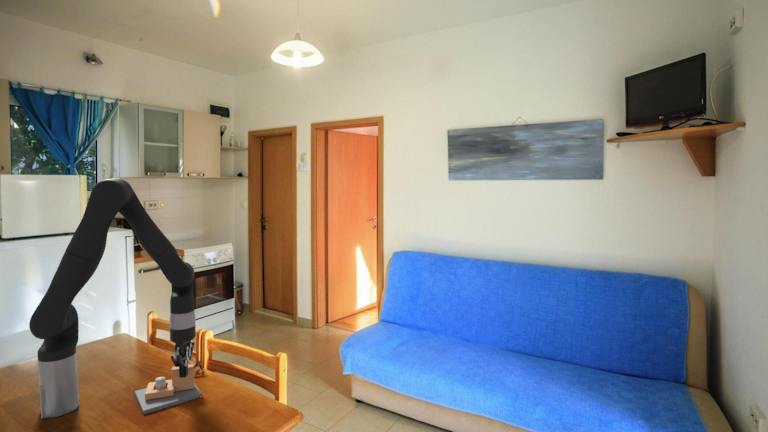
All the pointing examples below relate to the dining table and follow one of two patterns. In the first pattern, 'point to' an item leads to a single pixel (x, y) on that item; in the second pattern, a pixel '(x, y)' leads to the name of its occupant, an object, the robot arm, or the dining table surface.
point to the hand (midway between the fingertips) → (183, 376)
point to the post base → (168, 401)
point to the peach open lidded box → (172, 384)
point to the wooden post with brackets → (198, 366)
